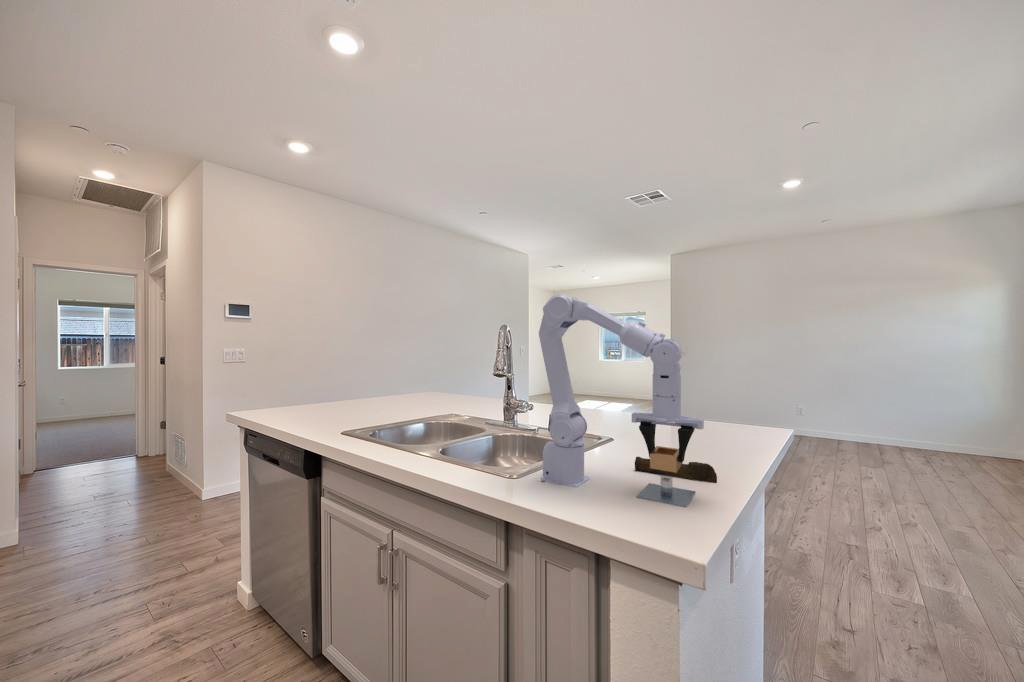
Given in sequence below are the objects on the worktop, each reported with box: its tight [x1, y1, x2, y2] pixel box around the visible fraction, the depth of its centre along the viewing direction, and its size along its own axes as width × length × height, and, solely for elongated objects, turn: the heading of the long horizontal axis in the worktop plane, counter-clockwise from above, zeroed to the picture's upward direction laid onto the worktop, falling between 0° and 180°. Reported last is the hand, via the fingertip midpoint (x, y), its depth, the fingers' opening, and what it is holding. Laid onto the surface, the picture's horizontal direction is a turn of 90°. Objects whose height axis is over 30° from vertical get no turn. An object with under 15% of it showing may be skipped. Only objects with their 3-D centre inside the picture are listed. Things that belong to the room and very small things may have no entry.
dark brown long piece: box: [634, 456, 718, 484], centre depth 105 cm, size 19×4×5 cm, turn 54°
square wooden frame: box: [649, 445, 683, 473], centre depth 92 cm, size 5×5×3 cm
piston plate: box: [635, 475, 696, 508], centre depth 92 cm, size 10×10×4 cm
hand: (666, 459), depth 92 cm, fingers closed on square wooden frame, 5 cm apart
